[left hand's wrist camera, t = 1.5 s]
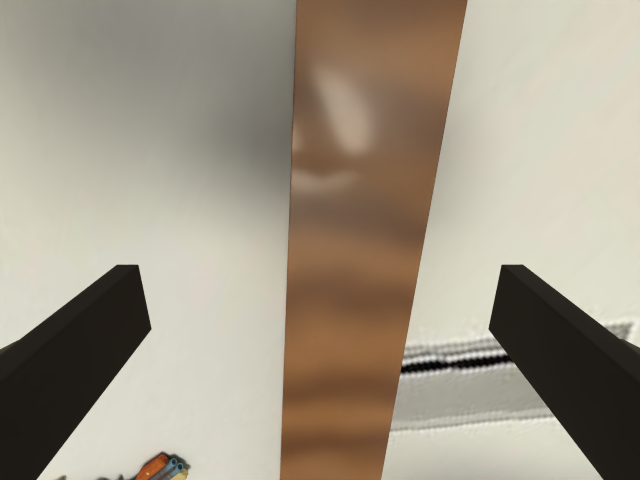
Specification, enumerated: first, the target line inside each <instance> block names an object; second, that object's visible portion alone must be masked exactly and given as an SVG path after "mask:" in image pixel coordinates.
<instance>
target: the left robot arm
mask: <svg viewBox="0 0 640 480" xmlns="http://www.w3.org/2000/svg"><path fill="white" fill-rule="evenodd" d="M150 330H151V324H150V319H149V315H148V310H147V305H146V300H145V295H144V290H143V285H142V281H141V276H140V271H139V266H138V265H116V266H115V267H113V268H112V269H111V270H110V271H108V272H107V273H106V274H104V275H103V276H102V277H100V278H99V279H98V280H97V281H95V282H94V283H93V284H91V285H90V286H89V287H87V288H86V289H85V290H84V291H82V292H81V293H80V294H78V295H77V296H76V297H74V298H73V299H72V300H71V301H69V302H68V303H67V304H65V305H64V306H63V307H61V308H60V309H59V310H58V311H56V312H55V313H54V314H52V315H51V316H50V317H48V318H47V319H46V320H45V321H43V322H42V323H41V324H39V325H38V326H37V327H35V328H34V329H33V330H32V331H30V332H29V333H28V334H26V335H25V336H24V337H22V338H21V339H20V340H18V341H16V342H14V343H12V344H10V345H8V346H6V347H4V348H2V349H0V480H37V478H38V477H39V476H40V474H41V473H42V472H43V470H44V469H45V468H46V467H47V465H48V464H49V463H50V461H51V460H52V459H53V457H54V456H55V455H56V453H57V452H58V451H59V449H60V448H61V447H62V446H63V444H64V443H65V442H66V440H67V439H68V438H69V436H70V435H71V434H72V432H73V431H74V430H75V429H76V427H77V426H78V425H79V423H80V422H81V421H82V419H83V418H84V417H85V415H86V414H87V413H88V412H89V410H90V409H91V408H92V406H93V405H94V404H95V402H96V401H97V400H98V398H99V397H100V396H101V395H102V393H103V392H104V391H105V389H106V388H107V387H108V385H109V384H110V383H111V381H112V380H113V379H114V378H115V376H116V375H117V374H118V372H119V371H120V370H121V368H122V367H123V366H124V364H125V363H126V362H127V361H128V359H129V358H130V357H131V355H132V354H133V353H134V351H135V350H136V349H137V347H138V346H139V345H140V344H141V342H142V341H143V340H144V338H145V337H146V336H147V334H148V333H149V332H150ZM489 330H490V332H491V333H492V334H493V336H494V337H495V338H496V340H497V341H498V342H499V344H500V345H501V346H502V347H503V349H504V350H505V351H506V353H507V354H508V355H509V357H510V358H511V359H512V361H513V362H514V363H515V364H516V366H517V367H518V368H519V370H520V371H521V372H522V374H523V375H524V376H525V378H526V379H527V380H528V381H529V383H530V384H531V385H532V387H533V388H534V389H535V391H536V392H537V393H538V395H539V396H540V397H541V398H542V400H543V401H544V402H545V404H546V405H547V406H548V408H549V409H550V410H551V412H552V413H553V414H554V415H555V417H556V418H557V419H558V421H559V422H560V423H561V425H562V426H563V427H564V429H565V430H566V431H567V432H568V434H569V435H570V436H571V438H572V439H573V440H574V442H575V443H576V444H577V446H578V447H579V448H580V449H581V451H582V452H583V453H584V455H585V456H586V457H587V459H588V460H589V461H590V463H591V464H592V465H593V467H594V468H595V469H596V470H597V472H598V473H599V474H600V476H601V477H602V478H603V480H640V348H639V347H637V346H635V345H633V344H631V343H629V342H627V341H625V340H623V339H619V338H618V337H616V336H615V335H614V334H612V333H611V332H610V331H608V330H607V329H606V328H605V327H603V326H602V325H601V324H599V323H598V322H597V321H595V320H594V319H593V318H592V317H590V316H589V315H588V314H586V313H585V312H584V311H582V310H581V309H580V308H579V307H577V306H576V305H575V304H573V303H572V302H571V301H569V300H568V299H567V298H566V297H564V296H563V295H562V294H560V293H559V292H558V291H556V290H555V289H554V288H553V287H551V286H550V285H549V284H547V283H546V282H545V281H543V280H542V279H541V278H540V277H538V276H537V275H536V274H534V273H533V272H532V271H530V270H529V269H528V268H527V267H525V266H524V265H502V266H501V271H500V276H499V281H498V285H497V290H496V295H495V300H494V305H493V310H492V315H491V319H490V324H489Z"/></svg>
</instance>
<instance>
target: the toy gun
mask: <svg viewBox="0 0 640 480" xmlns="http://www.w3.org/2000/svg"><path fill="white" fill-rule="evenodd" d="M187 475H188V471H187V470H186V469H185V468H184V466H183V464H182V463H178V464H177V460H176V459H175V458H173V459H171V458H170V459H169V460H168V458H167V457H166V456H165V455H160V456H158V457H157V458H156V459H154V460H153V461H151V462H150V463H149V464H147V465H146V466H145V467H143V468H142V469H141V470H140V472H139V474H138V476H137V478H136V480H185V479H186V478H187V477H186V476H187Z"/></svg>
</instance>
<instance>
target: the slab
mask: <svg viewBox="0 0 640 480" xmlns="http://www.w3.org/2000/svg"><path fill="white" fill-rule="evenodd" d="M466 6H467V0H297V13H296V42H295V70H294V98H293V126H292V155H291V183H290V211H289V239H288V267H287V296H286V324H285V352H284V380H283V408H282V437H281V465H280V480H381V476H382V471H383V465H384V459H385V454H386V448H387V443H388V437H389V432H390V426H391V421H392V415H393V410H394V404H395V399H396V393H397V388H398V382H399V376H400V371H401V365H402V360H403V354H404V349H405V343H406V338H407V332H408V327H409V321H410V316H411V310H412V305H413V299H414V293H415V288H416V282H417V277H418V271H419V266H420V260H421V255H422V249H423V244H424V238H425V233H426V227H427V221H428V216H429V210H430V205H431V199H432V194H433V188H434V183H435V177H436V172H437V166H438V161H439V155H440V150H441V144H442V138H443V133H444V127H445V122H446V116H447V111H448V105H449V100H450V94H451V89H452V83H453V78H454V72H455V67H456V61H457V55H458V50H459V44H460V39H461V33H462V28H463V22H464V17H465V11H466Z"/></svg>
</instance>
